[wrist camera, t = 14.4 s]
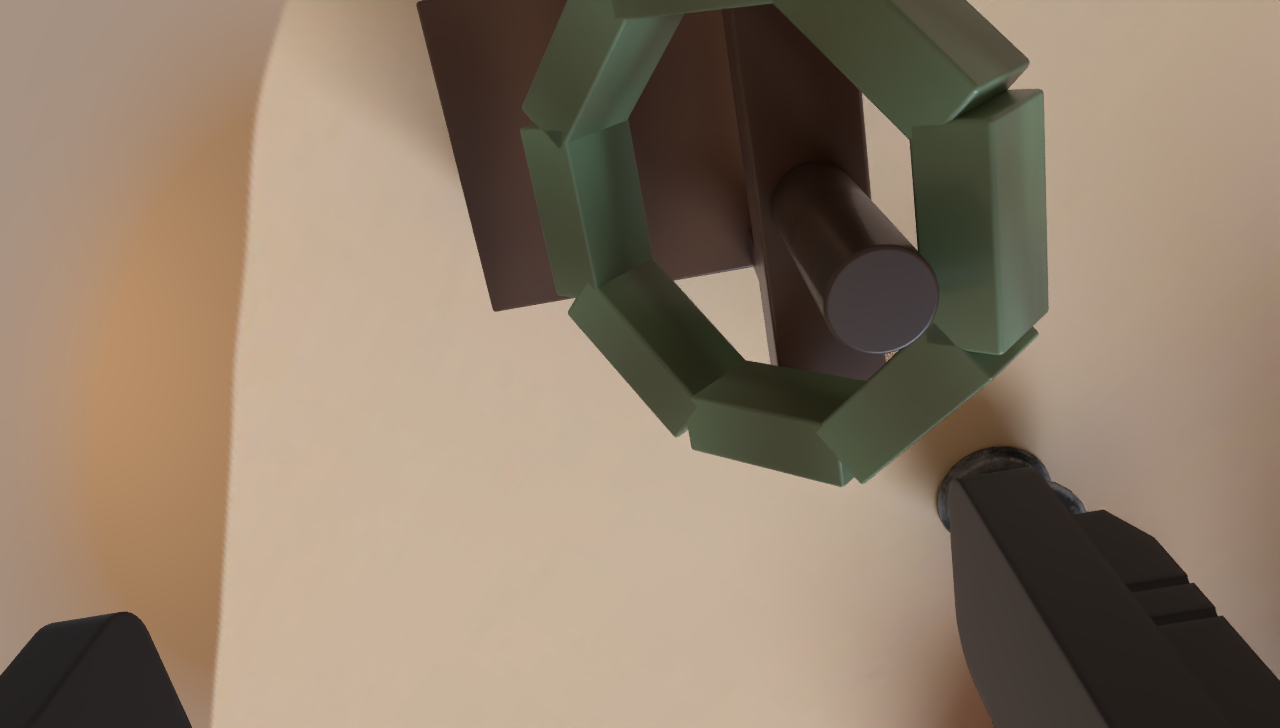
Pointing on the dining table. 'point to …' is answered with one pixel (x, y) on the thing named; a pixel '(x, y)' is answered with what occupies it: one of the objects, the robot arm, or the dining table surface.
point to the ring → (944, 210)
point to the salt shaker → (996, 462)
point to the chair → (700, 174)
